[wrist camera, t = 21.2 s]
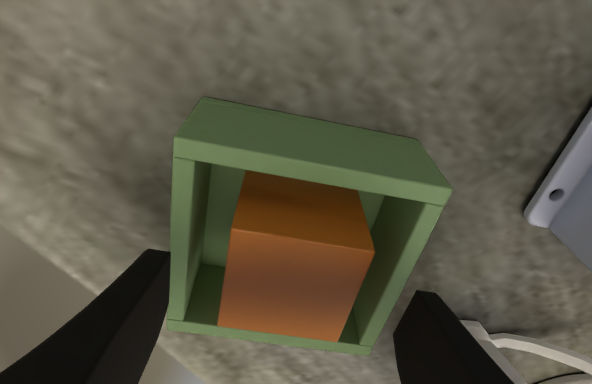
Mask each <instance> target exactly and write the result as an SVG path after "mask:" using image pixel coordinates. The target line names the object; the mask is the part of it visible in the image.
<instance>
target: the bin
mask: <svg viewBox="0 0 592 384" xmlns="http://www.w3.org/2000/svg"><path fill="white" fill-rule="evenodd" d="M173 156H174V157H173V163H172V191H171V219H170V247H169V252H171V266H170V292H169V305H168V308H167V327H166V328H167V330H173V331H180V332H188V333H196V334H203V335H211V336H219V337H226V338H234V339H242V340H249V341H257V342H264V343H272V344H280V345H287V346H295V347H303V348H310V349H318V350H326V351H333V352H341V353H349V354H356V355H364V356H369V355H370V353H371V351H372V349H373V346H374V344H375V342H376V340H377V339H378V337H379V335H380V333H381V331H382V329H383V327H384V325H385V323H386V321H387V319H388V317H389V315H390V313H391V311H392V309H393V307H394V305H395V303H396V301H397V299H398V297H399V295H400V293H401V291H402V289H403V287H404V285H405V283H406V281H407V279H408V277H409V275H410V273H411V272H412V270H413V268H414V266H415V264H416V262H417V260H418V258H419V256H420V254H421V252H422V250H423V248H424V246H425V244H426V242H427V240H428V238H429V236H430V234H431V232H432V230H433V228H434V226H435V224H436V222H437V220H438V218H439V216H440V214H441V212H442V210H443V208H444V205H446V203H447V201H448V199H449V197H450V195H451V193H452V191H453V189H452V187H451V186H450V184H449V183H448V182H447V180H446V179H445V177H444V176H443V175H442V173H441V172H440V170H439V169H438V168H437V166H436V165H435V163H434V162H433V161H432V159H431V158H430V156H429V155H428V154H427V152H426V151H425V149H424V148H423V147H422V146H421V144H420V142H419V141H418V140H417V139H412V138H407V137H402V136H397V135H392V134H387V133H382V132H377V131H372V130H367V129H362V128H357V127H352V126H347V125H342V124H337V123H332V122H327V121H322V120H317V119H312V118H308V117H303V116H298V115H293V114H288V113H283V112H278V111H273V110H268V109H263V108H258V107H253V106H248V105H243V104H238V103H233V102H228V101H223V100H218V99H213V98H208V97H202V99H201V100H200V102H199V103H198V104H197V106H196V107H195V108H194V110H193V111H192V113H191V114H190V115H189V117H188V118H187V119H186V121H185V122H184V124H183V125H182V126H181V128H180V129H179V130H178V132H177V133H176V135H175V136H174V138H173ZM245 170H250V171H256V172H261V173H267V174H272V175H278V176H283V177H289V178H294V179H300V180H305V181H311V182H316V183H322V184H327V185H333V186H338V187H344V188H349V189H355V190H358V193H359V196H360V200H361V203H362V207H363V210H364V214H365V217H366V221H367V224H368V228H369V232H370V235H371V239H372V242H373V246H374V249H375V254H374V257H373V259H372V261H371V264H370V266H369V269H368V271H367V273H366V276H365V278H364V280H363V283H362V285H361V288H360V290H359V292H358V295H357V297H356V299H355V302H354V304H353V307H352V309H351V311H350V314H349V316H348V318H347V321H346V323H345V326H344V328H343V330H342V333H341V335H340V337H339V340H338V342H332V341H324V340H317V339H309V338H302V337H295V336H287V335H280V334H272V333H265V332H257V331H250V330H242V329H235V328H227V327H220V326H217V321H218V314H219V307H220V300H221V293H222V286H223V280H224V273H225V266H226V259H227V252H228V245H229V238H230V231H231V226H232V222H233V218H234V214H235V210H236V206H237V202H238V198H239V194H240V190H241V186H242V182H243V178H244V174H245Z"/></svg>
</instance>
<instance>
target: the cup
mask: <svg viewBox="0 0 592 384" xmlns="http://www.w3.org/2000/svg"><path fill="white" fill-rule="evenodd" d="M460 322H461V323H462V324H463V325H464V326H465V328H466V329H467V330H468V331H469V332H470V334H471V335H472V336H473V337H474V338H475V339H476V341H477V342H478V343H479V344H480V345H481V346H482V348H483V349H484V350H485V351H486V352H487V353H488V355H489V356H490V357H491V358H492V359H493V360H494V361H495V363H496V364H497V365H498V366H499V367H500V368H501V369H502V370H503V371H504V373H505V374H506V375H507V376H508V377H509V378H510V379H511V380H512V381H513V382H514V383H515V384H528V383H527V382H526V381H525V380H524V378H523V377H522V376H521V375H520V374H519V373H518V372H517V370H516V369H515V368H514V367H513V366H512V365H511V364H510V362H509V361H508V360H507V359H506V358H505V357H504V356H503V355H502V353H501V352H500V351H499V350H498V349H497V348H502V347H507V348H512V349H517V350H522V351H528V352H532V353H535V354H538V355H541V356H544V357H547V358H550V359H553V360H556V361H559V362H561V363H564V364H567V365H570V366H572V367H575V368H578V369H580V370H582V371H584V372H586V373H589V374H591V375H592V358H590V357H588V356H586V355H584V354H581V353H578V352H575V351H572V350H569V349H566V348H563V347H560V346H557V345H554V344H550V343H547V342H544V341H541V340H537V339H534V338H530V337H525V336H519V335H513V334H508V333H498V334H491V335H489V334H488V333H487V332H486V331H485V329H484V328H483V327H482V325H481V324H480V323H479V322H478V321H467V320H460Z"/></svg>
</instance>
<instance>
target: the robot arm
mask: <svg viewBox="0 0 592 384" xmlns="http://www.w3.org/2000/svg"><path fill="white" fill-rule="evenodd" d="M556 189H557V191H556V192H555V193H553V194H551V195H550V193H551V192H552V191H554V190H556ZM524 217H525V219H526V220H527V221H528V222H529V223H530V224H531V225H534V226H539V227H545V228H549V229H550V230H551V231H552V232H553V233H554V234H555V235H556V236H557V237H558V239H559V240H560V241H561V242H562V243H563V244H564V245H565V246H566V247H567V248H568V249H569V250H570V251H571V252H572V253H573V254H574V255H575V256H576V257H577V258H578V259H579V260H580V261H581V262H582V263H583V264H584V265H585V266H586V267H587V268H588V269H589V270H590V271H591V272H592V107H591V109H590V110H589V112H588V113H587V115H586V116H585V118H584V119H583V121H582V122H581V124H580V126H579V127H578V129H577V130H576V132H575V133H574V135H573V136H572V138H571V139H570V141H569V142H568V144H567V146H566V147H565V149H564V150H563V152H562V153H561V155H560V156H559V158H558V159H557V161H556V163H555V164H554V166H553V167H552V169H551V170H550V172H549V173H548V175H547V176H546V178H545V179H544V181H543V183H542V184H541V186H540V187H539V189H538V190H537V192H536V193H535V195H534V196H533V198H532V199H531V201H530V203H529V204H528V206H527V207H526V209H525V211H524ZM170 266H171V252H167V251H160V250H154V249H147V250H146V251H144V252H143V253H142V254H141V255H140V256H139V257H138V258H137V259H136V260H135V261H134V263H133V264H132V265H131V266H130V267H129V268H128V269H126V270H125V271H124V272H123V273H122V274H121V275H120V276H119V277H118V278H117V279H116V280H115V281H114V282H113V283H112V284H111V285H110V286H109V287H108V288H106V289H105V290H104V291H103V292H102V293H101V294H100V295H99V296H98V297H96V298H95V299H94V300H93V301H92V302H91V303H90V304H89V305H88V306H87V307H85V308H84V309H83V310H82V311H81V312H79V313H78V314H77V315H76V316H74V317H73V318H72V319H71V320H70V321H68V322H67V323H66V324H65V325H63V326H62V327H61V328H60V329H59V330H57V331H56V332H55V333H54V334H53V335H51V336H50V337H49V338H47V339H46V340H45V341H44V342H42V343H41V344H40V345H38V346H37V347H36V348H34V349H33V350H31V351H30V352H29V353H28V354H26V355H25V356H23V357H22V358H21V359H19V360H18V361H16V362H15V363H14V364H12V365H11V366H9V367H8V368H7V369H5V370H4V371H2V372H1V373H0V384H138V382H139V380H140V378H141V376H142V373H143V371H144V369H145V366H146V364H147V362H148V360H149V357H150V355H151V353H152V350H153V348H154V346H155V344H156V341H157V339H158V336H159V333H160V330H161V327H162V324H163V321H164V318H165V314H166V311H167V308H168V305H169V292H170ZM393 338H394V346H395V354H396V361H397V368H398V372H399V376H400V380H401V384H515V383H514V382H513V381H512V380H511V379H510V378H509V377H508V376H507V375H506V374H505V373H504V371H503V370H502V369H501V368H500V367H499V366H498V365H497V364H496V363H495V361H494V360H493V359H492V358H491V357H490V356H489V355H488V353H487V352H486V351H485V350H484V349H483V348H482V346H481V345H480V344H479V343H478V342H477V341H476V339H475V338H474V337H473V336H472V335H471V334H470V332H469V331H468V330H467V329H466V328H465V326H464V325H463V324H462V323H461V322H460V320H459V319H458V318H457V317H456V316H455V314H454V313H453V312H452V311H451V310H450V309H449V307H448V306H447V305H446V304H445V303H444V302H443V300H442V299H441V298H440V297H439V296H438V295H437V294H436V293H432V292H425V291H419V290H417V291H416V292H415V294H414V296H413V298H412V300H411V302H410V304H409V305H408V307H407V309H406V311H405V313H404V315H403V317H402V318H401V320H400V322H399V324H398V326H397V328H396V330H395V331H394V333H393Z"/></svg>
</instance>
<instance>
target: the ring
mask: <svg viewBox="0 0 592 384" xmlns="http://www.w3.org/2000/svg"><path fill="white" fill-rule="evenodd" d="M539 384H592V375H591V374H589V373H586V374H575V375H567V376H562V377H558V378H554V379H550V380H547V381H544V382H541V383H539Z"/></svg>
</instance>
